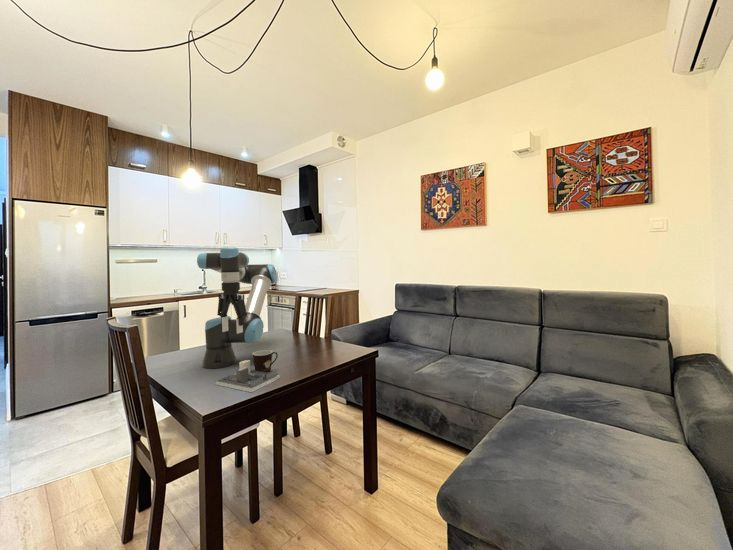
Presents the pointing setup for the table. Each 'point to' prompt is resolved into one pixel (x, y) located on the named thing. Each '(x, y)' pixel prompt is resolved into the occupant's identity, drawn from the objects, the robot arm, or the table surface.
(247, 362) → the fader
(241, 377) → the block
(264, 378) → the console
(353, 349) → the table surface
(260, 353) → the coffee mug
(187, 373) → the table surface
